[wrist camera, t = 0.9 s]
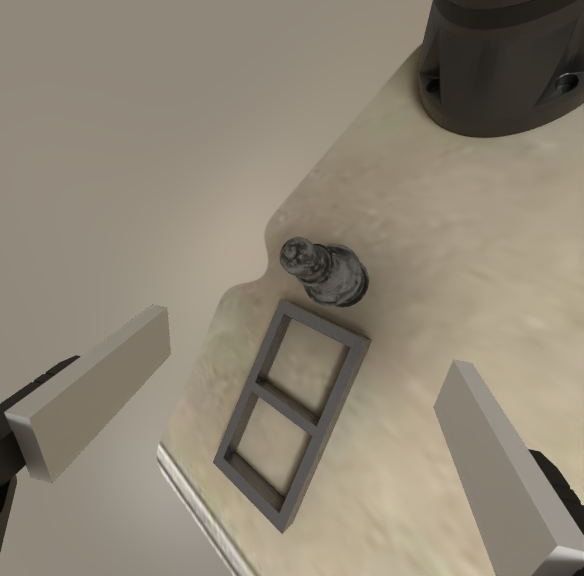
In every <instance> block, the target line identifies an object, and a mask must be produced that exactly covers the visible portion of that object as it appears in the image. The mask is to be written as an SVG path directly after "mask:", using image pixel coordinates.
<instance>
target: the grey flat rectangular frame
mask: <svg viewBox="0 0 584 576" xmlns="http://www.w3.org/2000/svg"><path fill="white" fill-rule="evenodd" d="M291 318H293V319H295V320H297V321H299V322H301V323H303V324H305V325H307V326H309V327H311V328H313V329H315V330H317V331H319V332H321V333H323V334H325V335H327V336H328V337H330V338H332V339H334V340H336V341H338V342H340V343H342V344H344V345H346V346H348V347H350V350H349V352H348V355H347V357H346V359H345V362H344V364H343V366H342V369H341V371H340V373H339V376H338V378H337V380H336V383H335V385H334V387H333V390H332V392H331V394H330V397H329V399H328V401H327V404H326V406H325V408H324V411H323V413H322V415H321V418H319V417H317V416H316V415H314V414H313V413H312V412H310V411H309V410H307V409H306V408H304V407H303V406H302V405H300V404H299V403H297V402H296V401H294V400H293V399H292V398H290V397H289V396H287V395H286V394H284V393H283V392H281V391H280V390H279V389H277V388H276V387H274V386H273V385H271V384H270V383H269V382H267V381H266V378H267V376H268V373H269V371H270V368H271V366H272V364H273V361H274V359H275V357H276V354H277V352H278V349H279V347H280V345H281V342H282V340H283V337H284V335H285V333H286V330H287V328H288V326H289V323H290V321H291ZM371 341H372V340H369V339H367V338H365V337H363V336H361V335H359V334H357V333H355V332H353V331H351V330H349V329H346V328H344V327H342V326H340V325H338V324H336V323H334V322H332V321H330V320H328V319H325V318H323V317H321V316H319V315H317V314H315V313H313V312H311V311H309V310H307V309H304V308H302V307H300V306H298V305H296V304H294V303H292V302H289V301H286V300H282V299H281V300H280V303H279V305H278V308H277V310H276V312H275V315H274V317H273V319H272V322H271V324H270V327H269V329H268V331H267V334H266V336H265V339H264V341H263V343H262V346H261V348H260V351H259V353H258V355H257V358H256V360H255V363H254V365H253V367H252V370H251V372H250V375H249V377H248V379H247V382H246V384H245V387H244V389H243V391H242V394H241V396H240V399H239V401H238V403H237V406H236V408H235V411H234V413H233V415H232V418H231V420H230V423H229V425H228V427H227V430H226V432H225V435H224V437H223V439H222V442H221V444H220V446H219V449H218V451H217V454H216V456H215V458H214V461H213V463H214V464H215V465H216V466H217V467H218V468H219V469H220V470H221V471H222V472H223V473H224V474H225V475H226V476H227V477H228V478H229V479H230V481H231V482H232V483H233V484H234V485H235V486H236V487H237V488H238V489H239V490H240V491H241V492H242V493H243V494H244V495H245V496H246V497H247V498H248V499H249V500H250V501H251V502H252V503H253V504H254V505H255V506H256V507H257V508H258V509H259V511H260V512H261V513H262V514H263V515H264V516H265V517H266V518H267V519H268V520H269V521H270V522H271V523H272V524H273V525H274V526H275V527H276V528H277V529H278V530H279V531H280V532H281V533H282V534H283V533H284V532H285V531H286V530H287V529H288V527H289V526H290V525H291V524H292V523H293V521H294V519H295V517H296V514H297V512H298V510H299V507H300V505H301V503H302V500H303V498H304V496H305V494H306V491H307V489H308V487H309V484H310V482H311V480H312V477H313V475H314V473H315V470H316V468H317V466H318V463H319V461H320V459H321V456H322V454H323V452H324V449H325V447H326V445H327V443H328V440H329V438H330V436H331V433H332V431H333V429H334V426H335V424H336V422H337V419H338V417H339V415H340V412H341V410H342V408H343V405H344V403H345V401H346V399H347V396H348V394H349V392H350V389H351V387H352V385H353V382H354V380H355V378H356V375H357V373H358V371H359V368H360V366H361V364H362V361H363V359H364V357H365V354H366V352H367V350H368V348H369V345H370V343H371ZM258 397H260V398H262V399H263V400H264V401H266V402H267V403H268V404H270V405H271V406H272V407H274V408H275V409H276V410H278V411H279V412H280V413H282V414H283V415H284V416H286V417H287V418H288V419H290V420H291V421H292V422H294V423H295V424H296V425H298V426H299V427H300V428H302V429H303V430H304V431H306V432H307V433H308V434H310V435H311V436H312V439H311V441H310V443H309V446H308V448H307V450H306V453H305V455H304V457H303V460H302V462H301V464H300V467H299V469H298V471H297V474H296V476H295V478H294V481H293V483H292V485H291V488H290V490H289V492H288V495H287V497H286V499H284V498H283V497H282V496H281V495H280V494H279V493H278V492H277V491H276V490H275V489H274V488H273V487H272V486H271V485H269V484H268V483H267V482H266V481H265V480H264V479H263V478H262V477H261V476H260V475H259V474H258V473H257V472H256V471H255V470H254V469H253V468H252V467H250V466H249V465H248V464H247V463H246V462H245V461H244V460H243V459H242V458H241V457H240V456H239V455H238V454H237V453H236V449H237V447H238V445H239V442H240V440H241V437H242V435H243V433H244V430H245V428H246V426H247V423H248V421H249V418H250V416H251V414H252V411H253V409H254V407H255V404H256V402H257V399H258Z"/></svg>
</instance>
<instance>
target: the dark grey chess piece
mask: <svg viewBox="0 0 584 576" xmlns="http://www.w3.org/2000/svg"><path fill="white" fill-rule="evenodd" d="M280 262H281V265H282V267H283V268H284V269H285V270H286V271H287V272H288V273H291V274H293V275H295V276H296V277H297V279H298V280H299V281H300V282H301V283H302V284H303V285H304V288H305V291H306V292H307V294H308V295H309V297H310V298H311V299H312V300H314V301H315V302H316V303H319V304H321V305H325V306H337V307H348V306H351V305H354V304H356V303H357V302H358V301H360V300H361V299H362V297H363V296H364V295H365V293H366V291H367V288H368V283H369V279H368V273H367V271H366V268H365V267H364V266H363V265H362V263H360V261H359V259H358V257H357V256H356V255H355V253H354V252H353V251H352V250H350V249H349V248H347V247H345V246H341V245H328V246H323V245H320V244H312V243H311V242H310V241H308V240H307V239H304V238H301V237H295V238H292V239H290V240H288V241H287V242H286V243H285V244H284V245H283V247H282V249H281V252H280Z"/></svg>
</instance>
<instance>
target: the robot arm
mask: <svg viewBox="0 0 584 576" xmlns="http://www.w3.org/2000/svg"><path fill="white" fill-rule="evenodd" d="M418 82H419V89H420V96H421V101H422V104H423V106H424V108H425V110H426V112H427V113H428V115H429V116H430V117H431V118H432V119H433V120H434V121H435V122H436V123H437V124H439V125H440V126H442V127H444V128H445V129H447V130H450V131H452V132H455V133H458V134H462V135H467V136H474V137H496V136H505V135H511V134H516V133H520V132H524V131H527V130H531V129H534V128H537V127H539V126H542V125H545V124H547V123H549V122H552V121H554V120H556V119H558V118H560V117H562V116H564V115H565V114H567V113H569V112H571V111H572V110H574V109H576V108H577V107H579V106H580V105H582V104H583V103H584V0H433V2H432V7H431V11H430V15H429V19H428V23H427V27H426V32H425V36H424V40H423V44H422V48H421V52H420V57H419V62H418ZM170 355H171V349H170V337H169V325H168V312H167V307H162V306H157V305H151V306H150V307H148V308H147V309H146V310H144V311H143V312H142V313H140V314H139V315H137V316H136V317H135V318H133V319H132V320H130V321H129V322H128V323H126V324H125V325H124V326H122V327H121V328H119V329H118V330H117V331H115V332H114V333H113V334H111V335H110V336H108V337H107V338H106V339H104V340H103V341H102V342H100V343H99V344H97V345H96V346H95V347H93V348H92V349H91V350H89V351H88V352H87V353H85V354H84V355H82V356H74V357H71V358H69V359H67V360H65V361H62V362H60V363H58V364H57V365H56V366H54V367H53V368H51V369H50V370H48V371H47V372H46V374H42V375H41V376H40V377H38V378H37V379H35V380H34V382H33V383H32V382H31V383H29V384H28V385H27V386H25V387H24V388H23V389H21V390H19V391H18V392H17V393H15V394H14V395H12V396H11V397H9V398H8V399H6V400H5V401H4V402H2V403H1V404H0V551H1V547H2V543H3V538H4V535H5V531H6V526H7V522H8V518H9V514H10V510H11V505H12V501H13V497H14V493H15V488H16V484H17V477H16V473H18V472H19V471H20V470H21V469H22V468H23V467H24V466H25V465H26V467H27V469H28V472H29V474H30V477H32V478H35V479H39V480H43V481H46V482H50V483H53V482H54V481H55V480H56V479H57V478H58V477H59V476H60V475H61V474H62V473H63V472H64V471H65V469H66V468H67V467H68V466H69V465H70V464H71V463H72V462H73V460H75V459H76V457H77V456H78V455H79V454H80V453H81V452H82V451H83V450H84V449H85V448H86V446H87V445H88V444H89V443H90V442H91V441H92V440H93V439H94V438H95V437H96V436H97V434H98V433H99V432H100V431H101V430H102V429H103V428H104V427H105V426H106V425H107V424H108V422H109V421H110V420H111V419H112V418H113V417H114V416H115V415H116V414H117V413H118V411H119V410H120V409H121V408H122V407H123V406H124V405H125V404H126V402H128V401H129V400H130V398H131V397H132V396H133V395H134V394H135V393H136V392H137V391H138V390H139V389H140V387H141V386H142V385H143V384H144V383H145V382H146V381H147V380H148V379H149V378H150V377H151V376H152V374H153V373H154V372H155V371H156V370H157V369H158V368H159V367H160V366H161V365H162V364H163V362H164V361H165V360H166V359H167V358H168V357H169V356H170ZM434 410H435V412H436V415H437V418H438V420H439V423H440V426H441V429H442V431H443V434H444V437H445V439H446V442H447V445H448V447H449V450H450V453H451V456H452V458H453V461H454V464H455V466H456V469H457V472H458V474H459V477H460V480H461V483H462V485H463V488H464V491H465V493H466V496H467V499H468V501H469V504H470V507H471V510H472V512H473V515H474V518H475V520H476V523H477V526H478V528H479V531H480V534H481V537H482V539H483V542H484V545H485V547H486V550H487V553H488V555H489V558H490V561H491V564H492V566H493V569H494V572H495V574H496V576H584V505H581V501H580V500H579V498H578V497H577V495H576V494H575V493H574V491H573V490H571V489H570V485H569V484H568V483H567V481H566V480H565V478H564V477H563V475H562V474H561V473H560V471H559V470H558V468H557V467H556V466H555V465H553V464H552V463H551V462H550V461H549V460H548V459H547V458H546V457H545V456H544V455H543V454H542V453H541V452H540V451H535V450H530V449H527V447H526V446H525V444H524V442H523V441H522V439H521V438H520V436H519V435H518V433H517V432H516V430H515V429H514V427H513V425H512V424H511V422H510V421H509V419H508V418H507V416H506V415H505V413H504V412H503V410H502V408H501V407H500V405H499V404H498V402H497V401H496V399H495V398H494V396H493V395H492V393H491V392H490V390H489V388H488V387H487V385H486V384H485V382H484V381H483V379H482V378H481V376H480V375H479V373H478V371H477V370H476V368H475V367H474V365H473V364H472V363H469V362H464V361H458V360H453V362H452V364H451V366H450V369H449V371H448V374H447V376H446V379H445V381H444V383H443V386H442V388H441V391H440V393H439V395H438V398H437V400H436V403H435V405H434Z"/></svg>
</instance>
